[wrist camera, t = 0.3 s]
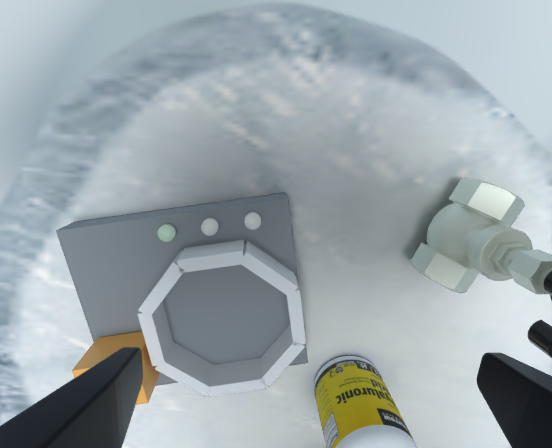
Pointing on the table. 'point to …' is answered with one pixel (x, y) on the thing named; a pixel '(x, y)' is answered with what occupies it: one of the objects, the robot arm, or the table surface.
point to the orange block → (114, 343)
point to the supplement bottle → (358, 407)
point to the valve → (485, 247)
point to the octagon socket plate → (196, 289)
